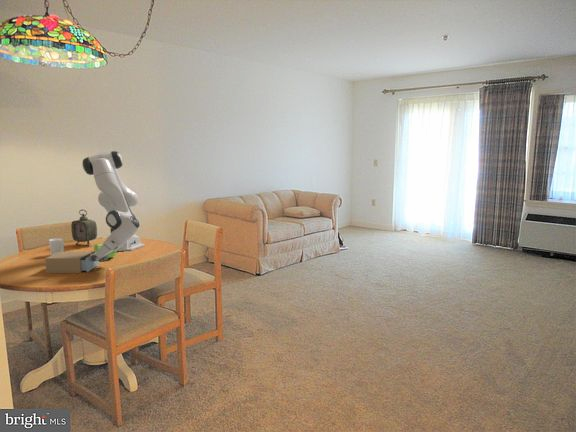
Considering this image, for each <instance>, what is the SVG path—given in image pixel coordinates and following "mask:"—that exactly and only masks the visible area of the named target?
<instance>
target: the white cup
mask: <svg viewBox="0 0 576 432" xmlns="http://www.w3.org/2000/svg"><path fill="white" fill-rule="evenodd" d="M64 243H65V242H64V238H61V237H59V238H58V237H57V238H50V239H48V246H49V250H50V256H51V255H54V254H56V253H58V252H65V251H64V247H65V246H64Z"/></svg>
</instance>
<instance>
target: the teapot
mask: <svg viewBox="0 0 576 432" xmlns="http://www.w3.org/2000/svg"><path fill="white" fill-rule="evenodd" d="M103 244H104V243H103V242H102V243H101V244H97V243H96V244H94V249H93V251H94V253H96V252H97V251H98V250H99V249H100V247H101V246H102V245H103ZM117 252H118V251H117V250H116V249H115V250H114V251H112V252H111V253H109V254H107V260H106V261H108V260H109V259H113V258H114V257H115V256H116V253H117Z"/></svg>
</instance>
